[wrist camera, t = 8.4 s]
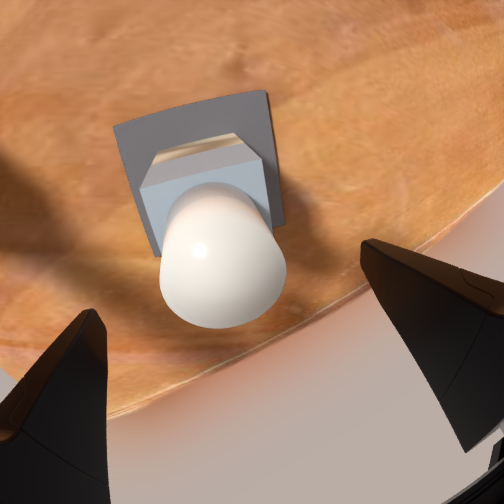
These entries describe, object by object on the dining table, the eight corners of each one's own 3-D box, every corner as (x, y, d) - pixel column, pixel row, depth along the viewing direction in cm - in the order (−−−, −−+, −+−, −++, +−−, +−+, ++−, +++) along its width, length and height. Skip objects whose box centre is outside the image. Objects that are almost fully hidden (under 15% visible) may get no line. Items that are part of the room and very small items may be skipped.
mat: (155, 254, 22) (155, 257, 22) (114, 126, 17) (112, 126, 16) (283, 222, 23) (285, 224, 23) (263, 89, 18) (265, 89, 17)
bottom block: (177, 218, 21) (175, 246, 17) (158, 151, 18) (150, 165, 15) (246, 201, 21) (259, 226, 18) (233, 132, 18) (244, 142, 15)
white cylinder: (180, 276, 14) (182, 338, 10) (154, 195, 11) (140, 242, 8) (265, 254, 14) (291, 312, 11) (251, 171, 12) (279, 208, 8)
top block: (175, 246, 17) (174, 288, 14) (150, 165, 15) (139, 189, 11) (258, 226, 18) (277, 262, 14) (244, 142, 15) (261, 159, 12)
